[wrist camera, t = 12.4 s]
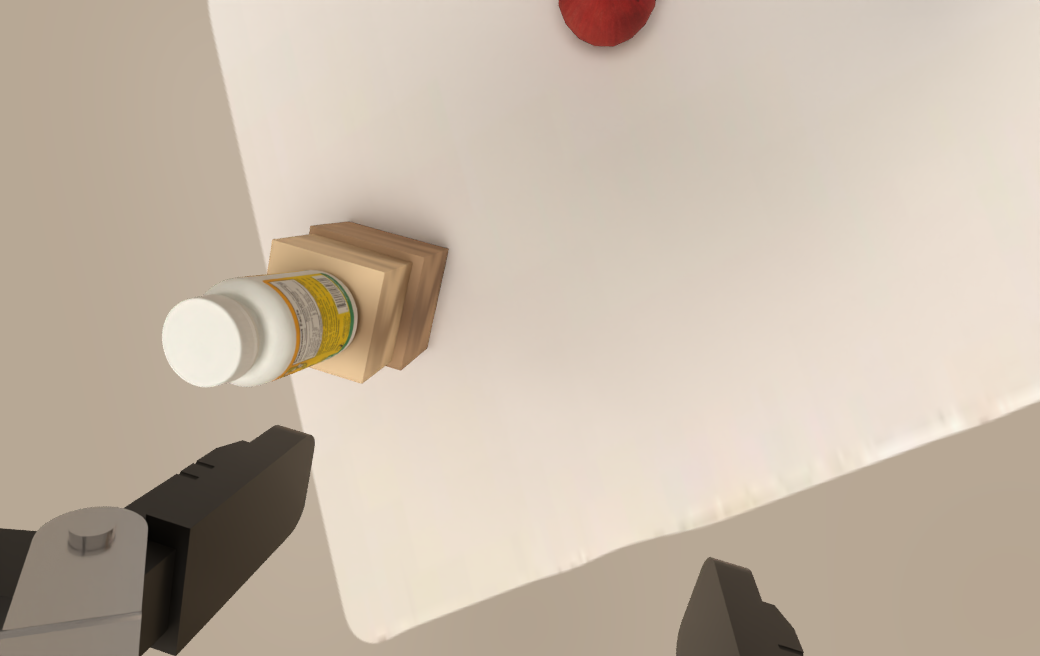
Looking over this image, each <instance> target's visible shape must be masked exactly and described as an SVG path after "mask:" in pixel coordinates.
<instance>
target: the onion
mask: <svg viewBox="0 0 1040 656" xmlns="http://www.w3.org/2000/svg"><path fill="white" fill-rule="evenodd" d="M655 1H656V0H559V8H560V10H561V13H562V16H563V18H564V21H565V23H566V25H567V26H568V27H569V28H570V29H571V30H572V31H573V33H574V34H575V35H576V36H577V37H578V38H579V39H581V40H583V41H585V42H587V43H589V44H592V45H594V46H615V45H618V44H620V43H622V42H624V41H627V40H629V39H631V38H632V37H633V36H634V35H635V34H636V33H637V32H638V31H639V30H640V29H641V28H642V27H643V26H644V25H645V24H646V22H647V20H648V18H649V16H650V14H651V12H652V10H653V8H654V7H655Z"/></svg>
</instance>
